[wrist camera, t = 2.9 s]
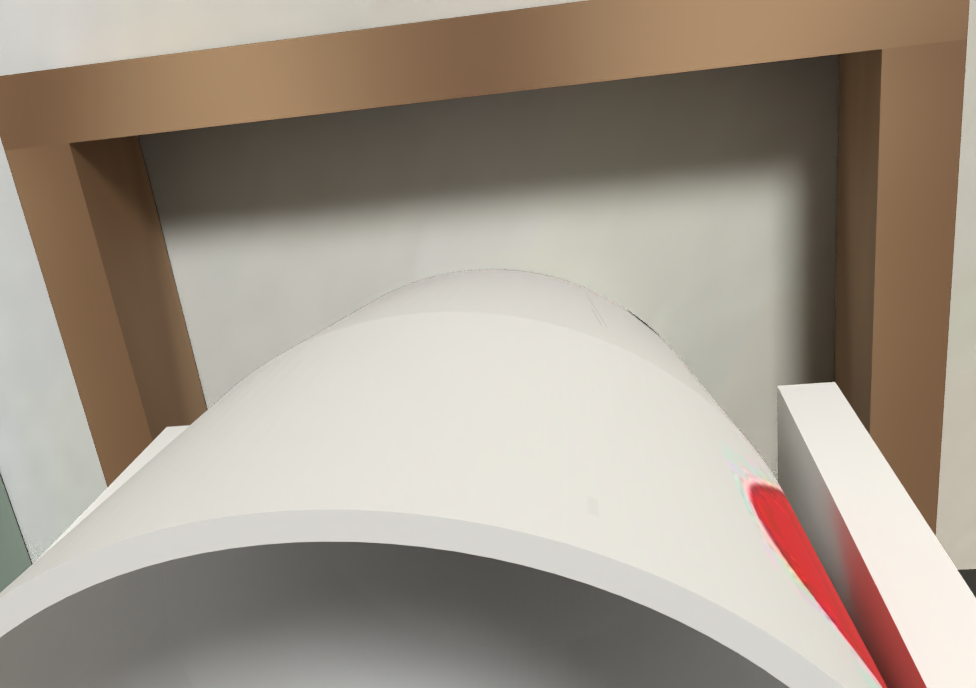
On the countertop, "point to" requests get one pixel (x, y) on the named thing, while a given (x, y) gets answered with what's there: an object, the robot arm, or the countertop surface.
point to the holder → (491, 70)
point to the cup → (445, 522)
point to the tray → (10, 544)
